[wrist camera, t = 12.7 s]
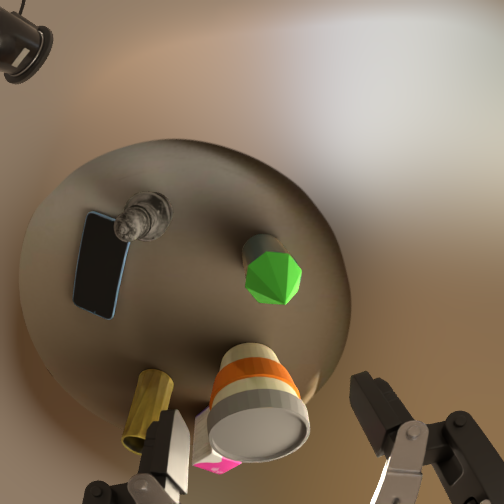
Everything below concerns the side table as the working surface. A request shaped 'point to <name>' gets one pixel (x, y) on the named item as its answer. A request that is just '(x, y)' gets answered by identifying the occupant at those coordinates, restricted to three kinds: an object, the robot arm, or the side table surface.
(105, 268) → the smartphone
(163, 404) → the vase
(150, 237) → the chess piece
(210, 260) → the side table surface
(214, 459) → the supplement box
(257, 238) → the teal cup
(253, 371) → the reusable coffee cup
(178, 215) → the side table surface
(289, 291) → the gemstone
